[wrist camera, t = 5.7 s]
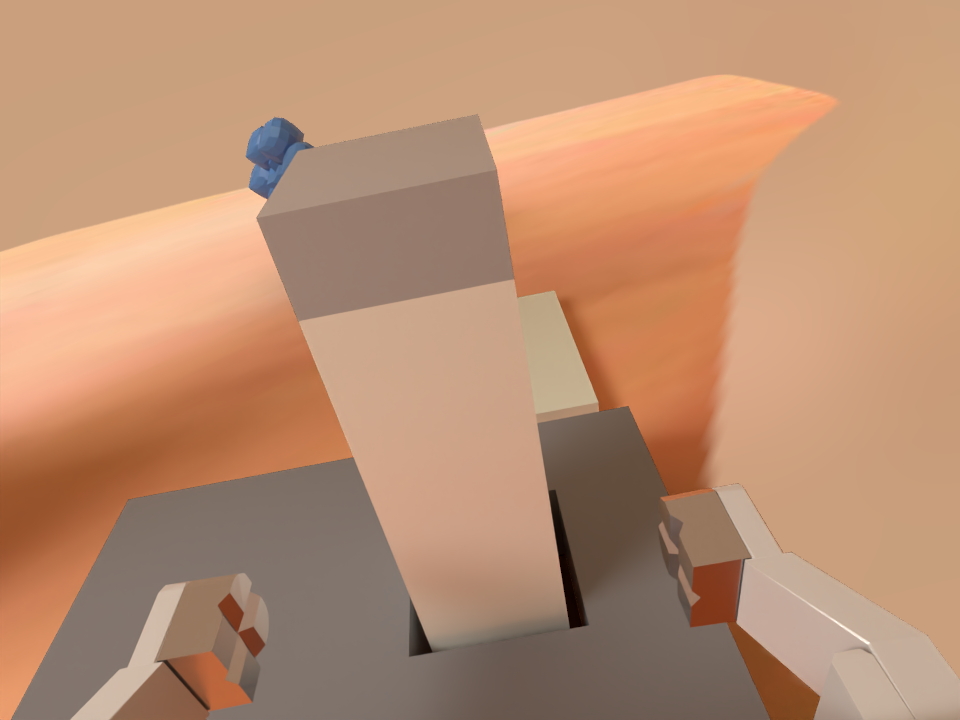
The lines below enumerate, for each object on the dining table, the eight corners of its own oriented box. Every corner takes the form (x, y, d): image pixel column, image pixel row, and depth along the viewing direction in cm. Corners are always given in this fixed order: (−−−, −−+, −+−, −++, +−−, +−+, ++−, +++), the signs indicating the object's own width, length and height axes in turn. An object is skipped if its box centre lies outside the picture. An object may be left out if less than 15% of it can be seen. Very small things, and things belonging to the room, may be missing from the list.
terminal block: (12, 929, 16) (-79, 887, 14) (169, 554, 26) (128, 499, 24) (766, 805, 15) (781, 743, 13) (631, 469, 25) (628, 406, 23)
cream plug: (451, 698, 19) (256, 218, 10) (446, 587, 22) (297, 150, 13) (577, 676, 19) (496, 169, 10) (554, 567, 22) (477, 114, 13)
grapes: (410, 272, 44) (365, 102, 38) (331, 313, 41) (266, 135, 35) (336, 239, 53) (288, 94, 46) (265, 271, 49) (202, 121, 43)
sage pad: (369, 461, 28) (363, 446, 28) (381, 338, 38) (377, 324, 37) (599, 418, 28) (598, 402, 28) (556, 304, 37) (554, 290, 37)
